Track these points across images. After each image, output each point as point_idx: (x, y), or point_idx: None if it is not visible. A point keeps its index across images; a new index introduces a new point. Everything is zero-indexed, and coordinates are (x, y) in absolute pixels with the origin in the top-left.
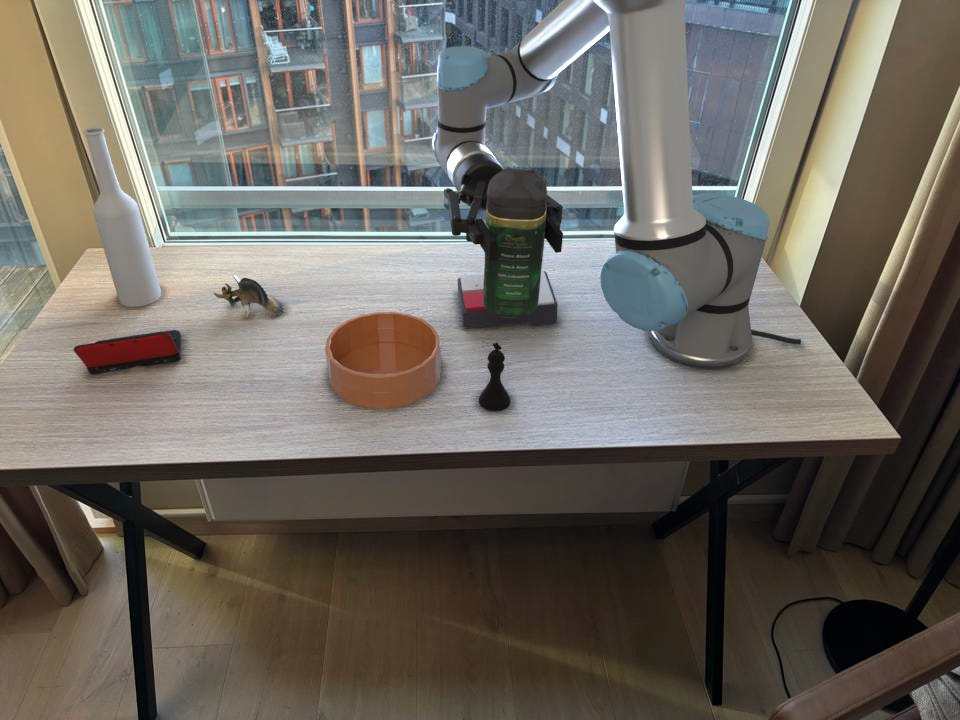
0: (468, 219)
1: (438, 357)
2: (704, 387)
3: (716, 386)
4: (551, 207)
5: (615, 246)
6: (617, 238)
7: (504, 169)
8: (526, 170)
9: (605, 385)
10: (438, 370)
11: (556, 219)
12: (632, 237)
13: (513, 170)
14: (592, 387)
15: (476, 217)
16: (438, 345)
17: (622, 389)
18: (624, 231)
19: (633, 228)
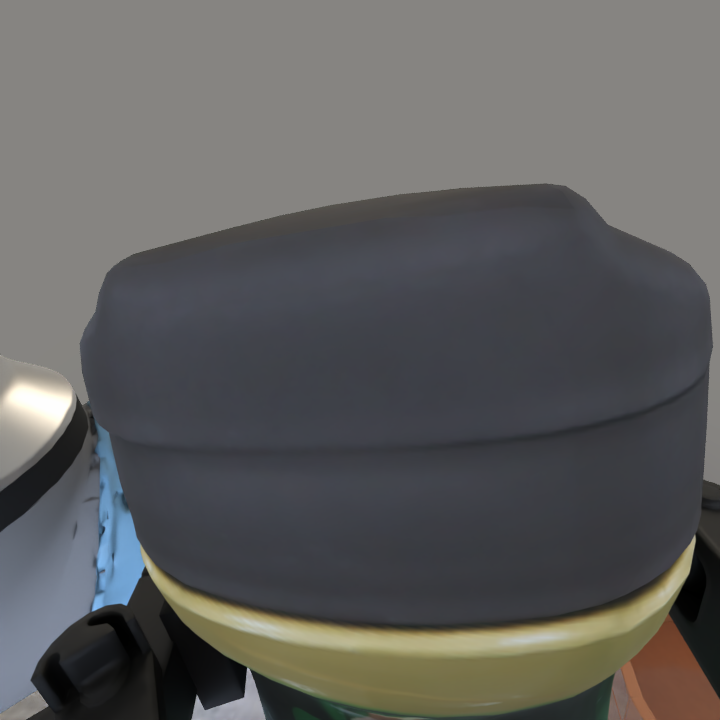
0: (704, 482)
1: (619, 688)
2: (38, 707)
3: (12, 711)
4: (88, 624)
5: (41, 519)
6: (60, 450)
7: (557, 191)
8: (233, 227)
9: (222, 714)
10: (613, 709)
11: (135, 590)
12: (72, 390)
13: (401, 194)
14: (252, 705)
15: (701, 555)
16: (638, 700)
17: (197, 697)
18: (52, 406)
19: (40, 384)
